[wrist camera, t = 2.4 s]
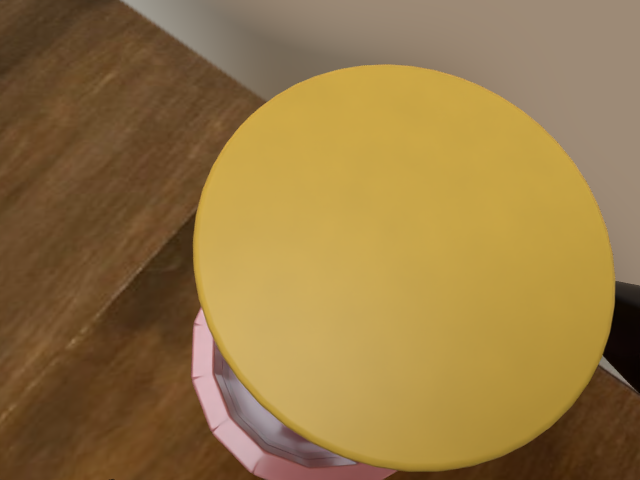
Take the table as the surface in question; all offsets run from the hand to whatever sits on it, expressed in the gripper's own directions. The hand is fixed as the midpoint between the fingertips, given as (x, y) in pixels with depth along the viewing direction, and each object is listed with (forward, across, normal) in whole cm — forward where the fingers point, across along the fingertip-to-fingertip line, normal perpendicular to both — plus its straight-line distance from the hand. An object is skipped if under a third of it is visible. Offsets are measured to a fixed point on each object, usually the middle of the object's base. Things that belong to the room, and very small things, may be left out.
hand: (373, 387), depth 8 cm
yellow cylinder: (+6, 0, +4) cm, 8 cm away
